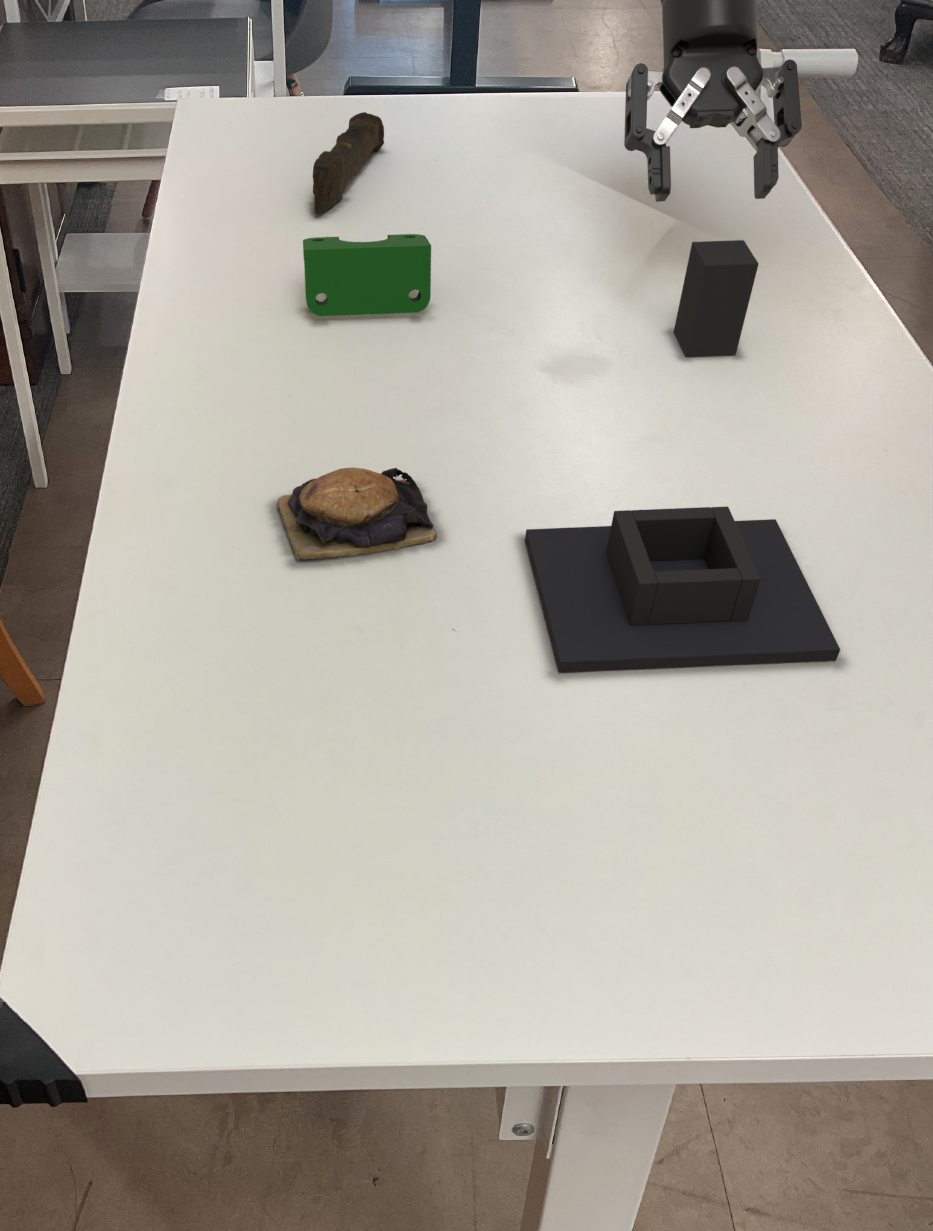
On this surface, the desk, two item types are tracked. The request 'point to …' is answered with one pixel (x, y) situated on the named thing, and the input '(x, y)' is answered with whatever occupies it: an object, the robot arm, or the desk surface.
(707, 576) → the base pad
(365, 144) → the dark brown lumpy bar
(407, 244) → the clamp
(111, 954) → the desk surface
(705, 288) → the rectangular block
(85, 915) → the desk surface
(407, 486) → the bread roll
